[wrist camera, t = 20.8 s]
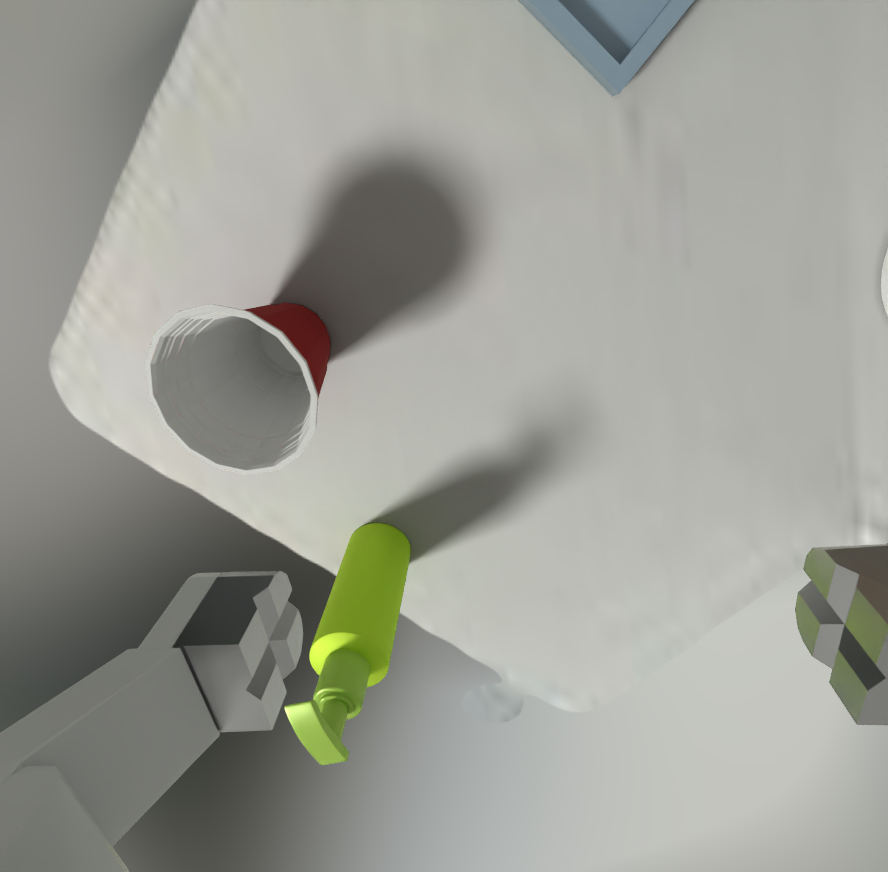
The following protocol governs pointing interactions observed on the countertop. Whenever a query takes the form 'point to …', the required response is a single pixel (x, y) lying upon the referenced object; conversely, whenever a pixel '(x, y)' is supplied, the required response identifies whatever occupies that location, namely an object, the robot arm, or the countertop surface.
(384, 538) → the soap dispenser
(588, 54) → the tray
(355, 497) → the countertop surface
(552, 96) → the countertop surface
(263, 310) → the plastic cup
